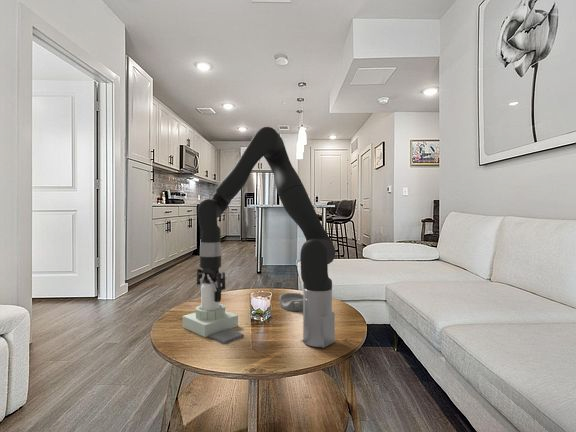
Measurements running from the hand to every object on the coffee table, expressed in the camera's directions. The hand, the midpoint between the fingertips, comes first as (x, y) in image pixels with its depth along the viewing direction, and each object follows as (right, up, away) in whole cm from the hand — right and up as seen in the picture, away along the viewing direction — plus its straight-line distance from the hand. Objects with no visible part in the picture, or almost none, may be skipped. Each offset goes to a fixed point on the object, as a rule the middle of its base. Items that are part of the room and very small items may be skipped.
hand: (210, 299), depth 113 cm
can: (0, -6, 0) cm, 6 cm away
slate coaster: (+8, -10, -9) cm, 16 cm away
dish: (+31, -10, +24) cm, 41 cm away
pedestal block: (0, -10, 0) cm, 10 cm away
